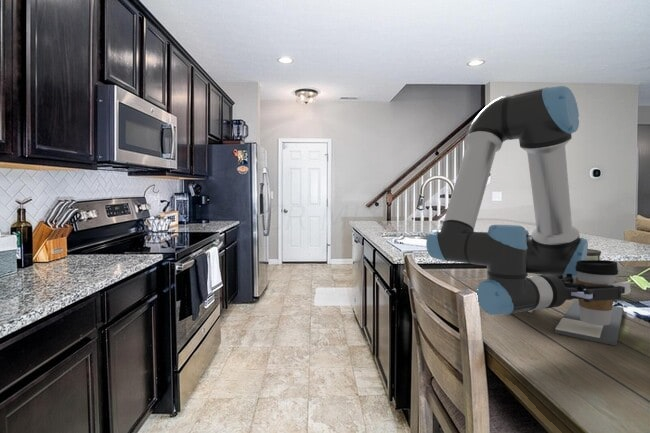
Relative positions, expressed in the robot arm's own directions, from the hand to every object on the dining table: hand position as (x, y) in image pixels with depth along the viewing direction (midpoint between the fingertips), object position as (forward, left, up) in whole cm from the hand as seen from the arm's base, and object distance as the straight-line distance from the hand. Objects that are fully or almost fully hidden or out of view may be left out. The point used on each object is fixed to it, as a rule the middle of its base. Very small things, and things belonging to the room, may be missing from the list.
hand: (609, 283), depth 90 cm
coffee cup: (-5, -1, -9) cm, 10 cm away
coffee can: (+25, +40, -13) cm, 48 cm away
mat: (+2, +8, -12) cm, 15 cm away
